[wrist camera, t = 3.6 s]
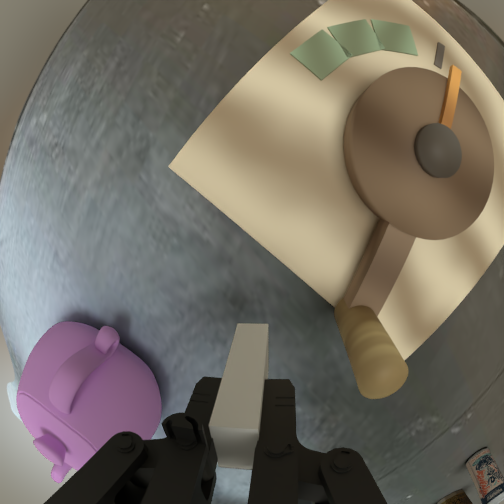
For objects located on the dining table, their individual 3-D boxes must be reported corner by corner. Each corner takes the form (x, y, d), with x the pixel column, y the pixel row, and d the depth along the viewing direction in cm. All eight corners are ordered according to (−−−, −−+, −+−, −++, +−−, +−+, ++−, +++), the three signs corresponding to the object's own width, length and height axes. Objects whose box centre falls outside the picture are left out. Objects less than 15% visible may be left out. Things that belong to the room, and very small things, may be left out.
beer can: (490, 442, 23) (514, 489, 12) (483, 455, 24) (504, 499, 13) (467, 456, 24) (490, 506, 12) (462, 467, 25) (481, 515, 13)
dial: (372, 42, 13) (413, -15, 6) (486, 117, 13) (552, 106, 6) (273, 301, 18) (269, 373, 11) (399, 343, 18) (437, 408, 11)
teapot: (68, 269, 20) (-33, 327, 9) (199, 352, 21) (145, 472, 10) (55, 393, 26) (8, 447, 15) (142, 449, 26) (109, 518, 15)
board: (395, 356, 20) (400, 365, 18) (174, 167, 18) (167, 166, 16) (534, 170, 14) (543, 171, 13) (366, -22, 12) (370, -30, 11)
